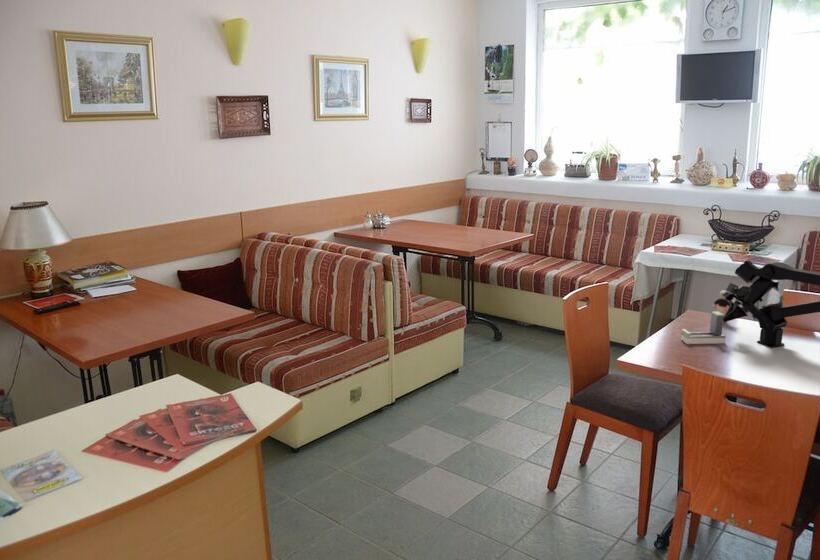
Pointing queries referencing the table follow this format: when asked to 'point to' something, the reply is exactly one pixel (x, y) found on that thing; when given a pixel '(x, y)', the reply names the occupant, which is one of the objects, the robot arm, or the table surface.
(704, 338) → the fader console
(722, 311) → the grandmother figurine
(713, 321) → the fader tab
